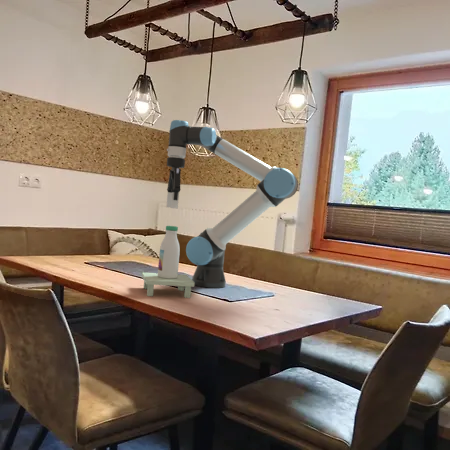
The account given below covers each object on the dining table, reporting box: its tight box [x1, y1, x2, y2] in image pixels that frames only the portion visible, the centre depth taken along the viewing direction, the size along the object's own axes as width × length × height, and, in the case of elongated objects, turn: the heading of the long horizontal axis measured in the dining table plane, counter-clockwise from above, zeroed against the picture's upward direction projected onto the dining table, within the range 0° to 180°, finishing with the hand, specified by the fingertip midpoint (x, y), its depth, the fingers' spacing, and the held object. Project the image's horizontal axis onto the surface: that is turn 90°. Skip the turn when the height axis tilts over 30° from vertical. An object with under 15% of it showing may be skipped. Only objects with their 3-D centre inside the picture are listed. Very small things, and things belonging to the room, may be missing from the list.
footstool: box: [141, 272, 196, 299], centre depth 184 cm, size 18×18×6 cm
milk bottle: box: [157, 225, 181, 279], centre depth 183 cm, size 8×8×20 cm
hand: (171, 208), depth 200 cm, fingers open, 13 cm apart
